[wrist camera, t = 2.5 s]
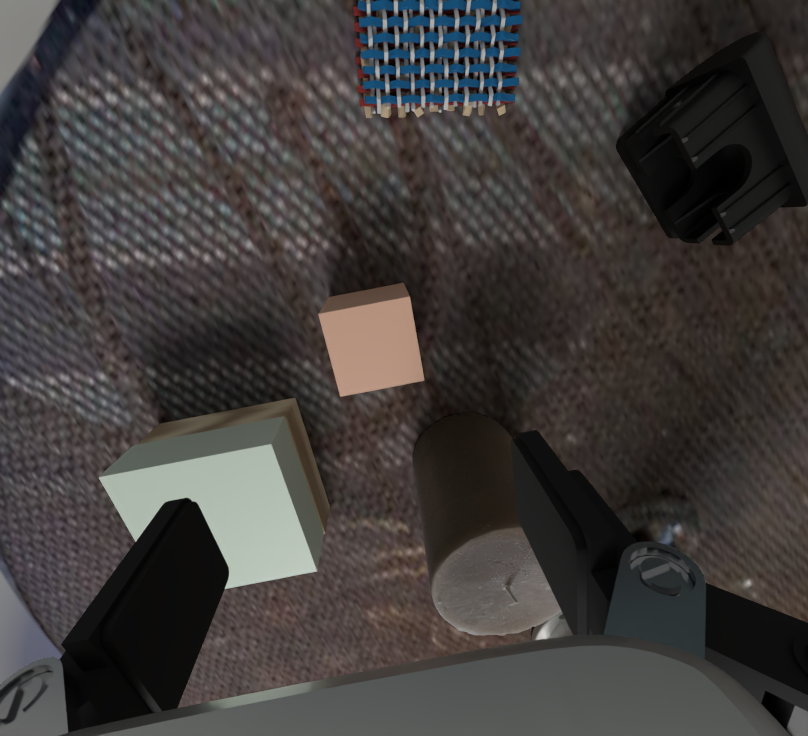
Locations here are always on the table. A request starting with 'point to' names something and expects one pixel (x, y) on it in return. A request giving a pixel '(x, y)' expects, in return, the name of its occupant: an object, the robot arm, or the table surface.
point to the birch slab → (253, 415)
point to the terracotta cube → (372, 339)
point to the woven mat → (436, 54)
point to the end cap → (721, 146)
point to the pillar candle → (477, 529)
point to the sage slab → (228, 495)
